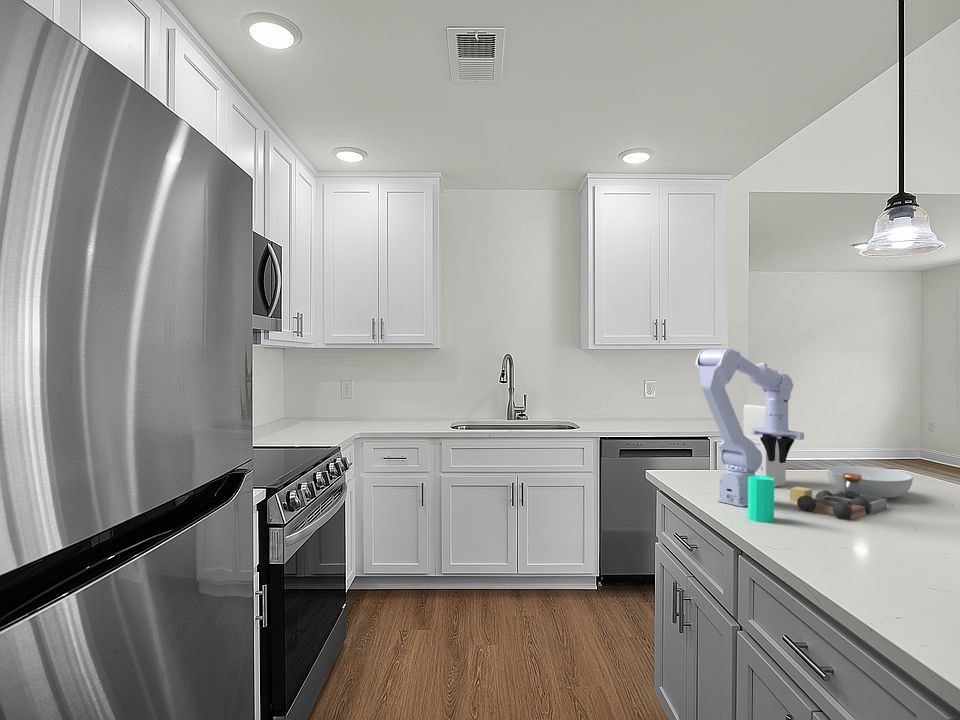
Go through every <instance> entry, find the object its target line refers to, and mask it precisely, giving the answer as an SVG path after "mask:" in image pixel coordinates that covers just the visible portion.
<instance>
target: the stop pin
mask: <svg viewBox="0 0 960 720" xmlns="http://www.w3.org/2000/svg"><path fill="white" fill-rule="evenodd" d="M843 478H844V479H845V489H844V498H846V499H852V500H853V499H854V498H857V497H860V480H862V475H860V474H854V473H843Z"/></svg>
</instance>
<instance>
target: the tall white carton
mask: <svg viewBox="0 0 960 720" xmlns="http://www.w3.org/2000/svg"><path fill="white" fill-rule="evenodd" d="M766 415H767V414H766V403H754V404H753V403H752V404H751V403H750V404H748V403H747V404H744V405H743V418H742V419H743V424H742V425H743V427H742V428H743V429H742V431H743V434H744V436H746V437H747V438H748V439H750V440H751V441H753V442H754V444H755V446H756V448H757V449H759V450H760V452H761V454H762V464H761V466H760V467H759V469H757V471H755V475H764V476H768V477H770V478H774V488H775V487H782V486H786V476H787V475H786V471H787V470H786V467H787V465H786V462H787V461H786V462H785V463H780V462H779V447H778V442H777V441H776V446H775V461H769V460H768V456H767V452H766V449H765V447H764V445H763V443H762V441H761V440H760V437H762V436H763V435H757V434H756V435H754V434H752V428H766ZM774 435H781V434H774ZM779 438H781V437H777V439H779Z"/></svg>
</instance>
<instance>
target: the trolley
mask: <svg viewBox="0 0 960 720" xmlns="http://www.w3.org/2000/svg"><path fill="white" fill-rule="evenodd" d="M832 493H833V492H831V491H830V490H825V489H824V490H820V491H818V492H817V493H816V495H815V498H813V496H812V497H811V496H809V495H804V496H801V497H799V498H798V500H797V502H796V503H797V507H798V508H799V509H800V510H801V511H802V512H805V513H807V512H815V513H818V514H819V513H820V514H824V515H829V516H834V517H836V518H838V519H839V520H847V519H848V520H853V519H855V518H859V517H862V516H866V514H867V513H866V512H868V511H869V510H870V508H871V504H870V502H869V500H868V499H866V498H865V497H857V498H854V499H853V500H849V499H843V498H838V497H834V496H833V494H832Z"/></svg>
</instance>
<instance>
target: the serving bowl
mask: <svg viewBox="0 0 960 720" xmlns="http://www.w3.org/2000/svg"><path fill="white" fill-rule="evenodd" d="M843 473H854V474H860V475H862V480H860V494H861V495H866V496H872V497H878V498H883V499H894V498H898V497H901V496H902V495H903V496H904V495H905V494H906V493H908V491H909V490H910V489H911V487H912V485H913V480H914V478H913V476H912V475H910V474H909V473H905V472H903V471H899V470H895V469H889V468H882V467H876V466H864V465H861V466H860V465H835V466H830V467H827V476H828V479H829V481H830V482H831V484H832V485H833V486H834V487H835V488H836V489H837V490H838V491H844V489H845V479H844V478H843Z"/></svg>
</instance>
